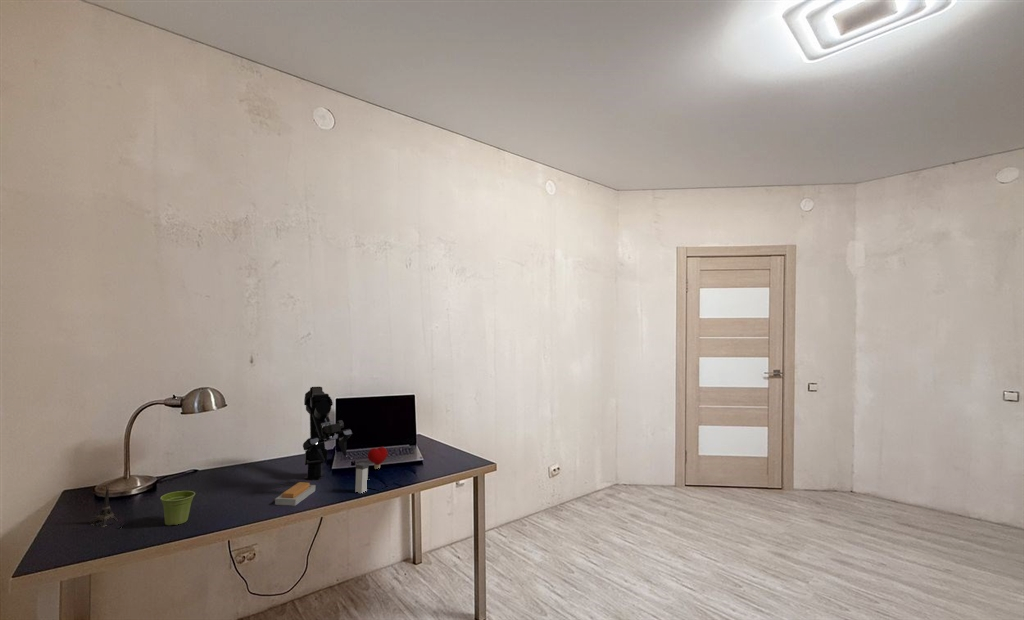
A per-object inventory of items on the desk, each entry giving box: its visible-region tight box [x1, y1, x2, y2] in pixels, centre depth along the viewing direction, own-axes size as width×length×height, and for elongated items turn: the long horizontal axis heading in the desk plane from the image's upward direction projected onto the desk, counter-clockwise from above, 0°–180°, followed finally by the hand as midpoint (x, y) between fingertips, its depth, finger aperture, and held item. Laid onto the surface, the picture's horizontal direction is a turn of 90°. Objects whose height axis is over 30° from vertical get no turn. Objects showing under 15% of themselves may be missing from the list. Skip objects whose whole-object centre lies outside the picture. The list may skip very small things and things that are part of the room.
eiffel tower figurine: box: [90, 485, 123, 529], centre depth 154 cm, size 15×10×13 cm
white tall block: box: [354, 462, 370, 494], centre depth 189 cm, size 4×4×11 cm
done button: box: [281, 481, 310, 498], centre depth 181 cm, size 13×4×2 cm, turn 178°
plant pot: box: [160, 490, 196, 526], centre depth 156 cm, size 9×9×9 cm
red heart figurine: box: [367, 446, 388, 470], centre depth 218 cm, size 9×7×10 cm
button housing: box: [274, 484, 317, 507], centre depth 180 cm, size 16×8×2 cm, turn 178°
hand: (334, 458), depth 188 cm, fingers open, 9 cm apart
